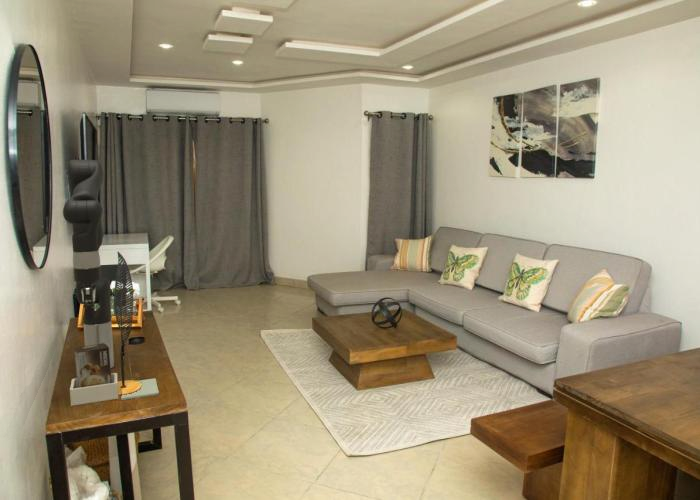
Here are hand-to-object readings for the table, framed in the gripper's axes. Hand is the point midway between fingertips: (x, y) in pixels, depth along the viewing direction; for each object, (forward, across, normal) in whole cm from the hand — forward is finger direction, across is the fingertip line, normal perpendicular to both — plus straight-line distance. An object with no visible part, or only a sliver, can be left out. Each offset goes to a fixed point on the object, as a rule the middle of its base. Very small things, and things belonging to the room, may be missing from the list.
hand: (90, 316), depth 166 cm
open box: (+26, 0, 0) cm, 26 cm away
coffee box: (+26, 0, 0) cm, 26 cm away
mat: (+26, 0, +13) cm, 29 cm away
